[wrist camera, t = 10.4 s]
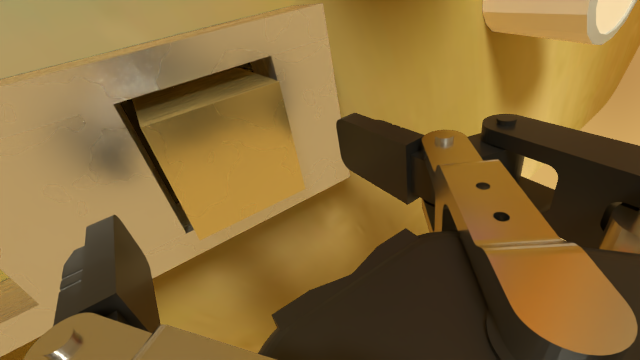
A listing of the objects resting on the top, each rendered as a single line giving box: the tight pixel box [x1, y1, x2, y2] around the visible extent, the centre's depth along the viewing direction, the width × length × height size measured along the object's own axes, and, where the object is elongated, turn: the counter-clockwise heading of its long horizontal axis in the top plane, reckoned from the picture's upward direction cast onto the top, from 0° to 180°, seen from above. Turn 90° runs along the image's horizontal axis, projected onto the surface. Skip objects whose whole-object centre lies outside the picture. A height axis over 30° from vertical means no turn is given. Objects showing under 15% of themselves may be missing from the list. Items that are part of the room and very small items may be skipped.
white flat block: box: [0, 3, 350, 357], centre depth 13 cm, size 24×9×3 cm, turn 103°
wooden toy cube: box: [132, 67, 305, 240], centre depth 14 cm, size 5×5×5 cm
